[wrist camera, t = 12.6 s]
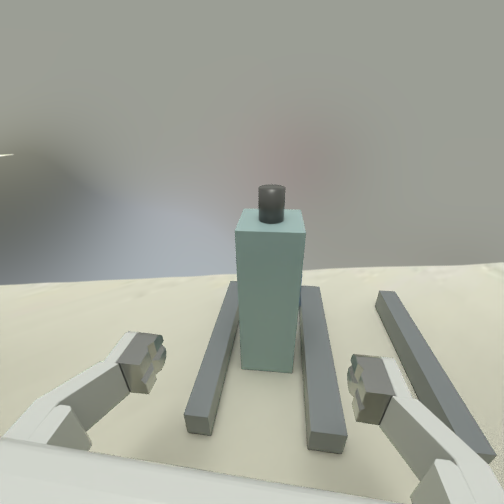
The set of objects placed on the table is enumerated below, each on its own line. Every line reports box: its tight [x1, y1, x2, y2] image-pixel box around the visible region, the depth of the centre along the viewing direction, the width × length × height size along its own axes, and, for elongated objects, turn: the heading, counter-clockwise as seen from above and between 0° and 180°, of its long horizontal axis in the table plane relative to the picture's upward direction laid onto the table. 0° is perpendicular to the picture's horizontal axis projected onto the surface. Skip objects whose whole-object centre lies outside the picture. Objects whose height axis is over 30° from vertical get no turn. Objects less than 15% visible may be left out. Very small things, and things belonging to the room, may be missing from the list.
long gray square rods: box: [184, 278, 497, 464], centre depth 20 cm, size 17×14×4 cm
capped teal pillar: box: [235, 185, 306, 373], centre depth 18 cm, size 4×4×14 cm
